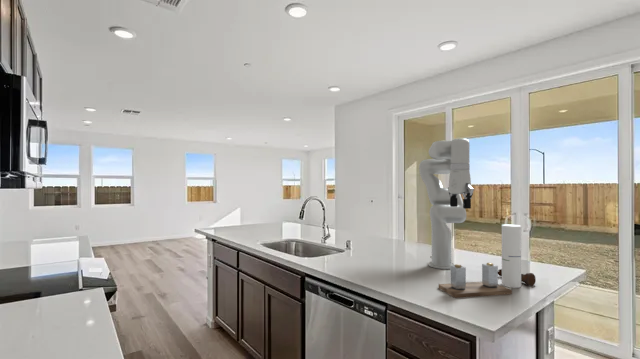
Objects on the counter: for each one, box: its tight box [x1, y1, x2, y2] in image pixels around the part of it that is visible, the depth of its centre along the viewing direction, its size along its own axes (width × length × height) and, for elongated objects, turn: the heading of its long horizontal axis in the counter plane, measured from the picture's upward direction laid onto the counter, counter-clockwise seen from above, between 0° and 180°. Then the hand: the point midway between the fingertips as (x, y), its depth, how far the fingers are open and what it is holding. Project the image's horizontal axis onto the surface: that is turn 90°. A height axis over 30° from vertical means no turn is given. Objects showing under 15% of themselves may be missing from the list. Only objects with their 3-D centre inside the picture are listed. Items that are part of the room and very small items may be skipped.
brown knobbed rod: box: [498, 268, 537, 287], centre depth 147 cm, size 6×5×15 cm
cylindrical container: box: [501, 223, 522, 289], centre depth 142 cm, size 7×7×25 cm
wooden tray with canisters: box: [438, 263, 513, 299], centre depth 134 cm, size 12×24×11 cm, turn 100°
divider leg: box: [481, 262, 499, 287], centre depth 135 cm, size 4×4×9 cm
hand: (460, 207), depth 145 cm, fingers open, 9 cm apart
